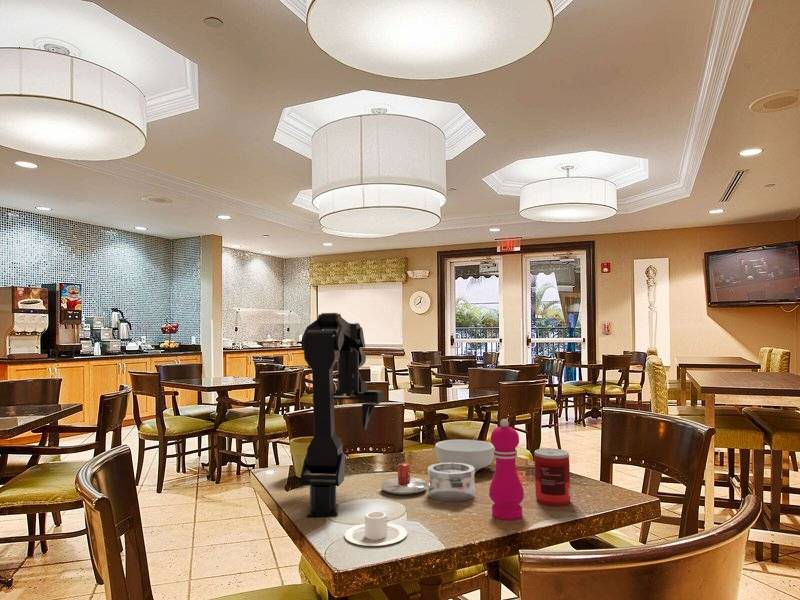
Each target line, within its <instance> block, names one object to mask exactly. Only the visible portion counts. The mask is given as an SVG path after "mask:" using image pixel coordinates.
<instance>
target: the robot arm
mask: <svg viewBox="0 0 800 600" xmlns="http://www.w3.org/2000/svg"><path fill="white" fill-rule="evenodd" d="M301 348H302V349H301V350H302V351H303V356H304V361H305V362H306V364H307V365H308V367H309V368H310V370H311V375H312V377H311V378H312V404H313V406H312V409H313V410H312V411H313V412H312V413H313V415H312V416H313V436H312V437H313V439H312V441H311V443H310V444H309V446H308V448H307V454H306V457H305V459H304V463H303V468H302V473H301V478H300V484H301V486H309V506H308V509H307V513H306V517H309V518H310V517H313V518H314V517H330V516H332V517H334V516H335V517H336V516H338V515H339V504H338V503H337V487H340V486H341V484H342V483H343V482H344V480H345V471H346V469H345V468H346V455H345V453H344V452H343V451H344V449H343V439H342V437H338V435H337V433H336V428H335V426H336V425H335V423H336V421H335V420H336V419H335V405H336V402H337V401H336V400H354V401H355V400H358V401H359V400H361V401H364V402H365V403H362V404H361V416H362V421H361V422H362V423H361V424H362V429H363V430H364V431H365V430H367V429H368V424H369V421H370V418H371V415H372V412H373V410H374V409H375V407H376V406H378V405H380V404H381V402H384V401H385V392H384V391H383V390H381V389H380V390H379V389H378V390H377V389H376V390H374V389H371V390H368V383H367V381H365V380H363V379H362V375H361V372H360V368H361V367H363V366H364V365H365V364H366V361H367V356H366V353H365V351H363V348H366V342H365V337H364V330H363V327H362V326H361V325H360V323H359V322H348V321H347V320H346V319H344V318H343V317H342V315H341V313H338V312H323V313H320V314H318V316H317V319H316V320H314V321H313V322H311V323H310V324H309V325H307V326H306V328H305V330H304V333H303V334H302V338H301ZM361 348H362V349H361ZM336 364H337V373H335V379H337V389H335V391H334V367H335V365H336ZM311 474H320V475H311Z"/></svg>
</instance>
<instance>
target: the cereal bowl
mask: <svg viewBox="0 0 800 600" xmlns="http://www.w3.org/2000/svg"><path fill="white" fill-rule="evenodd" d="M434 449H435V456H436V459H437V460H438V463H450V462H454V463H465V464H468V465H472V466H473V467H474V468H475V473H476V472H478V471H479V470H481V469H483V468H486V467H487V466H489V465H490V464H491V463H492V461H493V459H494V458H495V457H494V456H493V454H494V452H493V450H494V449H495V447H494V446H493V445H492V443H491V442H489V441H488V442H487V441H482V440H476V439H446V440H442V441H437V442H436V443H435V448H434Z"/></svg>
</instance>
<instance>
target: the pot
mask: <svg viewBox="0 0 800 600" xmlns="http://www.w3.org/2000/svg"><path fill="white" fill-rule="evenodd" d="M427 474H428V475H427V477H428V480H427V482H428V484H427V485H428V496H429V497H430V498H431V499H433V498H434V500H437V501H441V502H464V501H468V500H471V499H473V498H474V497H475V495H476V493H475V492H476V491H475V490H476V489H475V485H476V484H475V474H476V472H475V468H474V467H473V466H472V465H468V464H465V463H454V462H450V463H440V462H438V463H433V464H430V465H429V466H427Z"/></svg>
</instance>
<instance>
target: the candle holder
mask: <svg viewBox="0 0 800 600" xmlns="http://www.w3.org/2000/svg"><path fill="white" fill-rule="evenodd" d="M387 518H388V515H387V513H385V512H383V511H370V512H367V513H366V514H365V515H364V523H361V524H357V525H354V526H352V527H350V528H348V529H347V530H345V532H344V537H345V539H346V541H348V542H350V543H352V544H354V545H359V546H365V547H379V546H380V547H381V546H382V547H383V546H389V545H392V544H395V543H398V542H400V541H402V540H404V539H405V538H406V537H407V535H408V531H407V529H406V528H405V527H403V526H401V525H398V524H395V523H389V522H388V521H387V520H388V519H387ZM389 528H392V529H395V530H396V531H397V532H398V533H397V532H396V531H395V530H394V531H395V532H396V533H397V536H396V537H395V538H393V539H391V540H388V541H383V542H364V541H359V540H357V539H355V538H354V537H353V536H354V535H355V533H356V532H358V531H361V530H363V529H364V532H365V533H364V534H365V535H364V536H365V538H366V539H368V540H372V541H374V540H375V541H379V540H378V539H380V540H383V539H385V538H387V536H388V529H389ZM392 529H391V530H392ZM382 538H383V539H382Z"/></svg>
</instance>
